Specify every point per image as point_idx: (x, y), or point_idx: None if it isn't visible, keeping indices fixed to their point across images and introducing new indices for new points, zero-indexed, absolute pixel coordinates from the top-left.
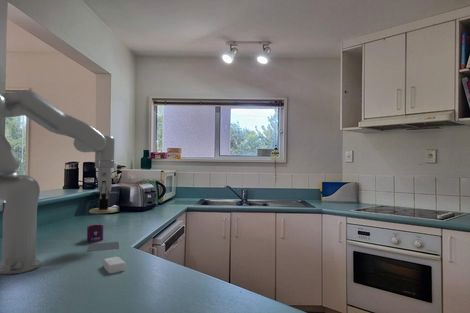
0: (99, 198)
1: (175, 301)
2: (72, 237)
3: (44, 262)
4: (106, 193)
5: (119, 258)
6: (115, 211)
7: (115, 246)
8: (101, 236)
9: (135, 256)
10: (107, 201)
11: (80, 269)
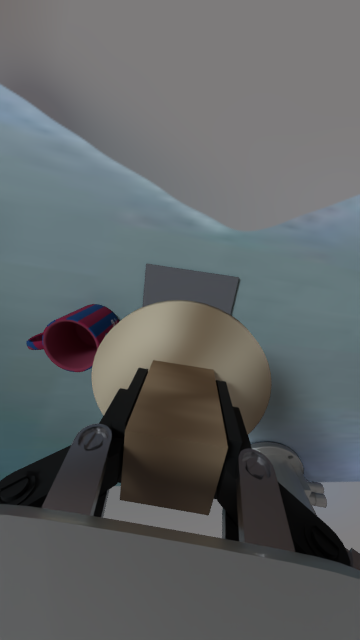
0: (208, 506)
1: None
2: (30, 375)
3: (250, 435)
4: (290, 548)
5: None
6: (237, 320)
7: (206, 283)
8: (105, 315)
9: (348, 244)
10: (235, 422)
11: (355, 383)
